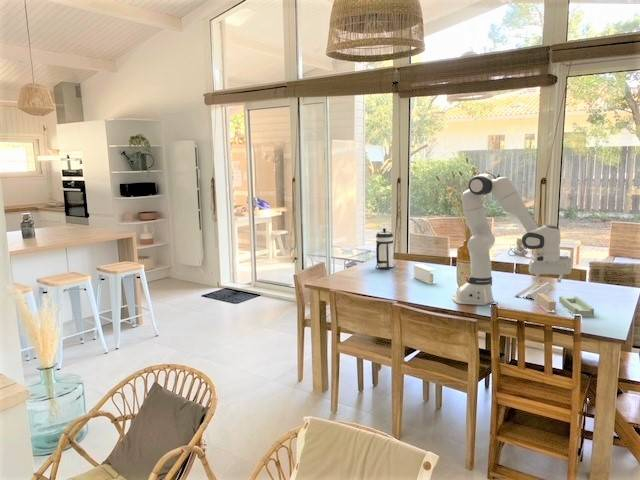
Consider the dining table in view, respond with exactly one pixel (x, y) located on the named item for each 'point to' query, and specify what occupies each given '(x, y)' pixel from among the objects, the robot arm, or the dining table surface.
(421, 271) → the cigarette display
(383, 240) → the coffee press
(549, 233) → the robot arm
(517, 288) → the dining table surface
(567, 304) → the green rectangular tray
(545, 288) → the crown molding
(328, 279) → the dining table surface
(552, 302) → the tan rectangular block
